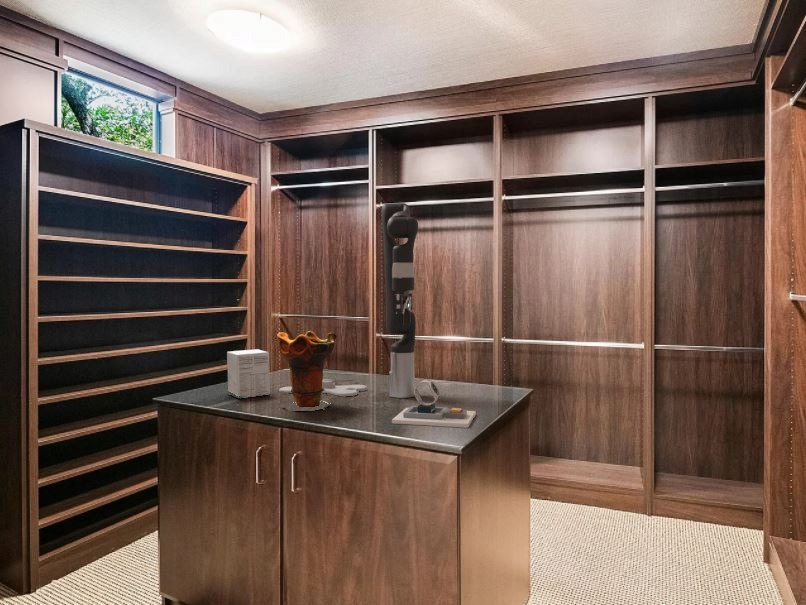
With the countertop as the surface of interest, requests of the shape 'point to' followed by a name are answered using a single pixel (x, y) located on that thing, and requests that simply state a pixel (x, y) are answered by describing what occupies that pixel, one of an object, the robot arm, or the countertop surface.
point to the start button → (456, 410)
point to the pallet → (435, 417)
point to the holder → (335, 388)
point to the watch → (427, 406)
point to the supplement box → (248, 372)
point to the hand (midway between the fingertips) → (403, 324)
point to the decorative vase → (306, 365)
